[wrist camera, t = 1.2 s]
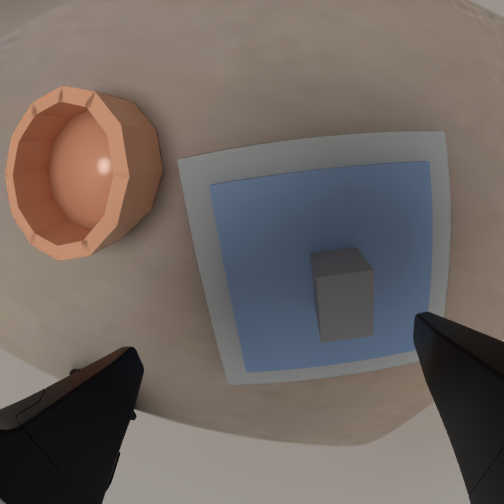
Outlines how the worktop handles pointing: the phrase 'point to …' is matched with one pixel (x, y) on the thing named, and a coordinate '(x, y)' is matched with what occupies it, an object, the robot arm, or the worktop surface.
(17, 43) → the worktop surface
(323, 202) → the cover sheet
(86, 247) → the bowl
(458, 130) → the worktop surface
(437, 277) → the mat
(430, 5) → the worktop surface
